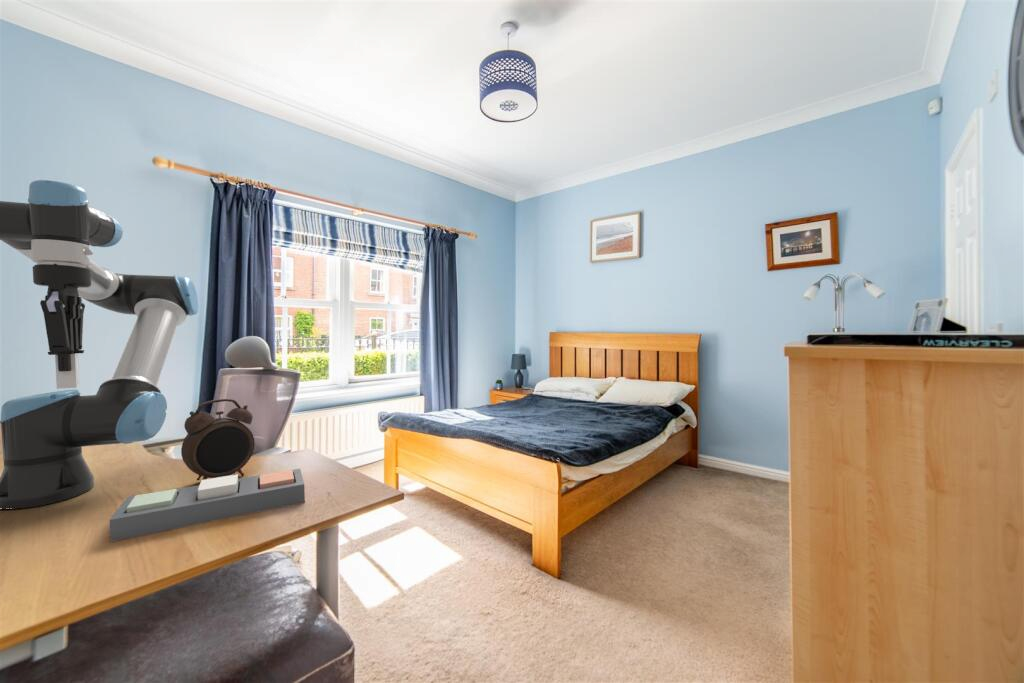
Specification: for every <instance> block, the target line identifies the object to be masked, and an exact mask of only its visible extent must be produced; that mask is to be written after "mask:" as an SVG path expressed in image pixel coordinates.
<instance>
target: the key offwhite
mask: <svg viewBox="0 0 1024 683" xmlns="http://www.w3.org/2000/svg"><path fill="white" fill-rule="evenodd" d="M238 479H239V474H237V473H236V474H232V475H229V476H224V477H217V478H207V479H205V480H202V479H200V483H199V488H198V500H202V499H207V498H213V497H218V496H224V495H229V494H235V493H238Z"/></svg>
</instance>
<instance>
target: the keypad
mask: <svg viewBox="0 0 1024 683" xmlns="http://www.w3.org/2000/svg"><path fill="white" fill-rule="evenodd" d="M291 470H292V471H293V476H294V483H290V484H285V485H279V486H274V487H268V488H263V489H260V475H261V474H260V475H253V476H247V477H241V478H238V493H235V494H229V495H224V496H218V497H213V498H207V499H202V500H198V488H199V485H200V484H199V485H194V486H188V487H181V488H176V489H177V498H176V501H175V503H174V505H168V506H163V507H157V508H152V509H146V510H141V511H135V512H129V513H127V507H128V505H129V504H130V503H131V501H132V500H133V498H134V497H135V496H136V495H131V496H127V497H126V498H125V499H124V500H123V501H122V502H121V504H120V506H119V507H118V508H117V509H116V511H115V512H114V514H113V515H112V516H111V517H110V519H109V538H110V543H112V542H111V541H113V542H116V541H115V540H118V541H121V540H126V539H131V538H137V537H142V536H146V535H151V534H155V533H161V532H165V531H172V530H175V529H176V530H177V529H181V528H184V527H190V526H196V525H200V524H205V523H209V522H215V521H221V520H224V519H229V518H230V519H231V518H235V517H238V516H244V515H248V514H254V513H259V512H264V511H268V510H273V509H279V508H284V507H288V505H289V506H293V504H294V505H298V504H297V503H299V504H303V503H305V502H306V501H305V498H306V497H305V492H306V491H305V481H304V478H303V475H302V471H301V468H297V469H291ZM302 502H303V503H302Z"/></svg>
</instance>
